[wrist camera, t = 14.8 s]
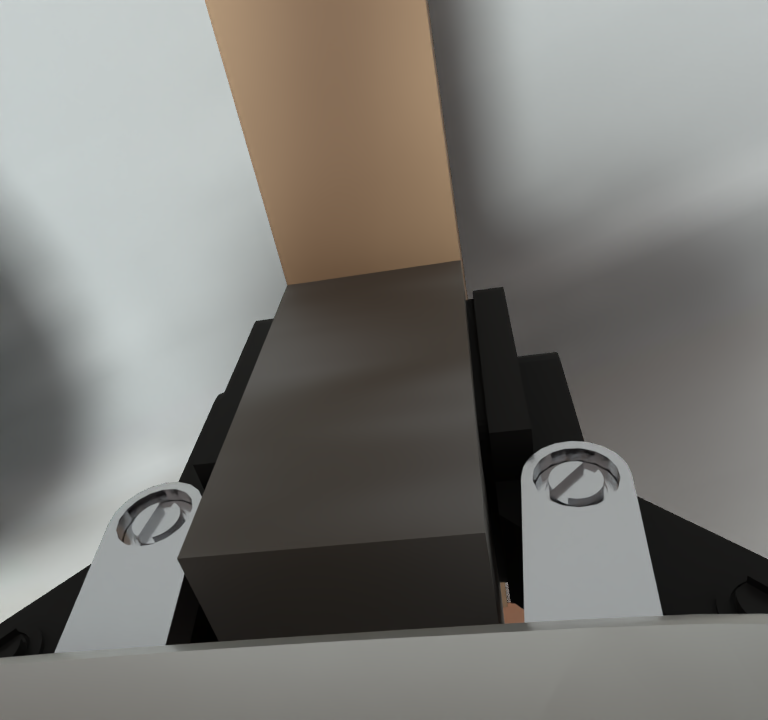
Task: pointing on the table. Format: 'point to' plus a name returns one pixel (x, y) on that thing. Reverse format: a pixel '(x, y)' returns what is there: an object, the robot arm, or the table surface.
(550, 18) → the table surface
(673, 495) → the table surface
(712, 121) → the table surface
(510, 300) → the table surface
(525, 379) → the robot arm
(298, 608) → the scraper
